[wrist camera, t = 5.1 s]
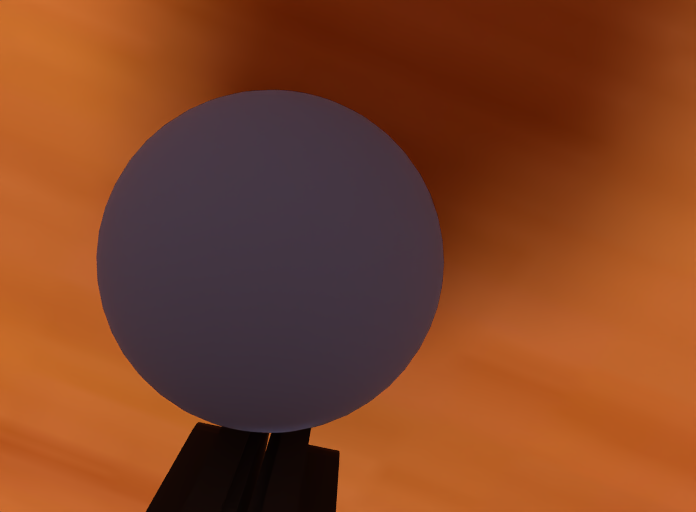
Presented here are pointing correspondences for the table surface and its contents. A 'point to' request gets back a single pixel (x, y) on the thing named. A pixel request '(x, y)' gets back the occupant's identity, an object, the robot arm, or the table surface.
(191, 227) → the ball
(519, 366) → the table surface
